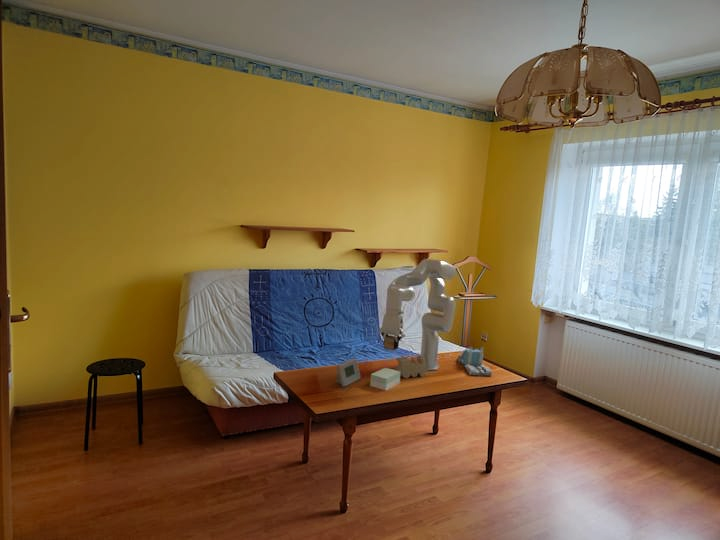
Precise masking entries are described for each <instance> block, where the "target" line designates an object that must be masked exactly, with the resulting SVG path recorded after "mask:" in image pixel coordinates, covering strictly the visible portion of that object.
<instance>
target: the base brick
mask: <svg viewBox="0 0 720 540" xmlns="http://www.w3.org/2000/svg"><path fill="white" fill-rule="evenodd" d="M400 373H401V372H400V371H398V370H396V369H392V368H388V367H384V368H382V369H379V370H377V371H375V372H373V373H371V374H370V382H369V384H370V385H369V387H373V388H376V389H379V390H383V391H387V390H389V389H391V388H394V387H395V386H397V385H399V384H400V383H401V375H400Z"/></svg>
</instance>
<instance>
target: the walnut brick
mask: <svg viewBox="0 0 720 540" xmlns="http://www.w3.org/2000/svg"><path fill="white" fill-rule="evenodd" d="M394 341H395V336H394V335H390V334H389V335H388V336H386V337H385V339H383V349H384V350H388V351H395V350H396V349H394Z"/></svg>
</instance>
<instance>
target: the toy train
mask: <svg viewBox="0 0 720 540" xmlns="http://www.w3.org/2000/svg"><path fill="white" fill-rule="evenodd" d="M396 361H397V371H400V372H401V373H400V377H402V378H403V379H408V378H410V377H412V378H416V377H418V376H419V377H421V378H423V377H424V376H425V375H426V373H429V370H428V369H427V368H426V364H427V363H425V358H423V357H421V355H418V356H416V359H415V358H411V359H410V358H408V357H407V356H404V357H403V356H401V357H396Z"/></svg>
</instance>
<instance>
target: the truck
mask: <svg viewBox="0 0 720 540" xmlns="http://www.w3.org/2000/svg"><path fill="white" fill-rule="evenodd" d="M484 346H485V344H484ZM456 360H457V362H459V363H460V364H461V365H462V366H463V368H464V369H466V372H467V373H468V374H469V376H484V377H485V376H487V377H492V376H493V372H492V369H491V368H490V367H489V366H485V365H484V364H483V361H484V347H483V346H482V347H480V349H478V348H474V349H473V346H468V347H467V348H464V349H463V350H462V352H461V355H460V354H459V355H458V357H457V358H456Z"/></svg>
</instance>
